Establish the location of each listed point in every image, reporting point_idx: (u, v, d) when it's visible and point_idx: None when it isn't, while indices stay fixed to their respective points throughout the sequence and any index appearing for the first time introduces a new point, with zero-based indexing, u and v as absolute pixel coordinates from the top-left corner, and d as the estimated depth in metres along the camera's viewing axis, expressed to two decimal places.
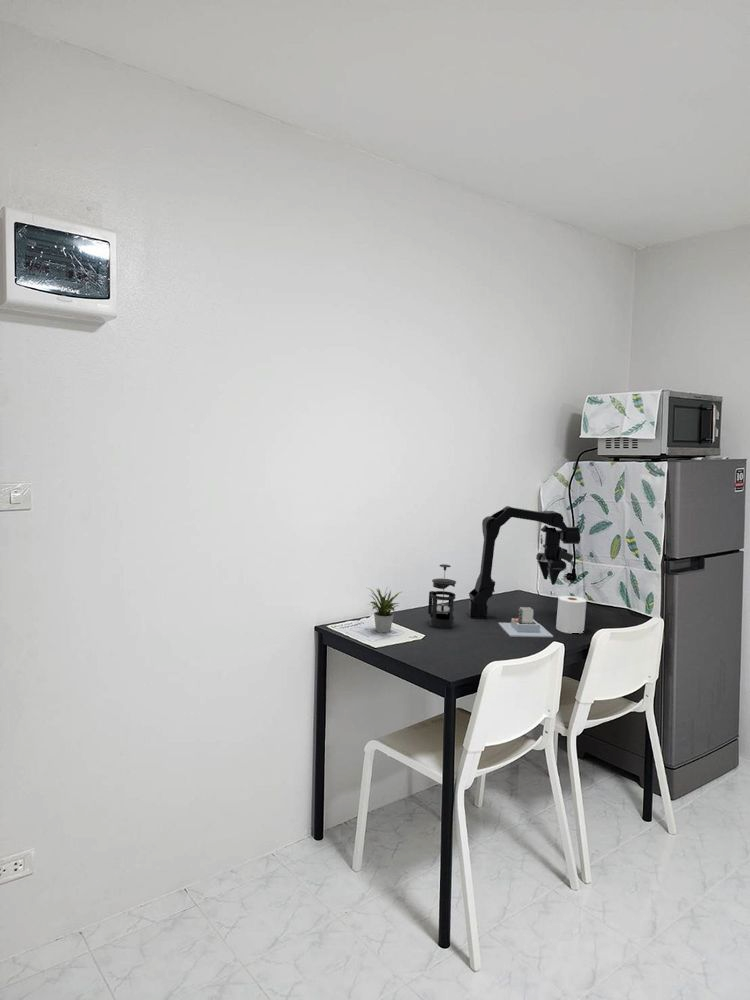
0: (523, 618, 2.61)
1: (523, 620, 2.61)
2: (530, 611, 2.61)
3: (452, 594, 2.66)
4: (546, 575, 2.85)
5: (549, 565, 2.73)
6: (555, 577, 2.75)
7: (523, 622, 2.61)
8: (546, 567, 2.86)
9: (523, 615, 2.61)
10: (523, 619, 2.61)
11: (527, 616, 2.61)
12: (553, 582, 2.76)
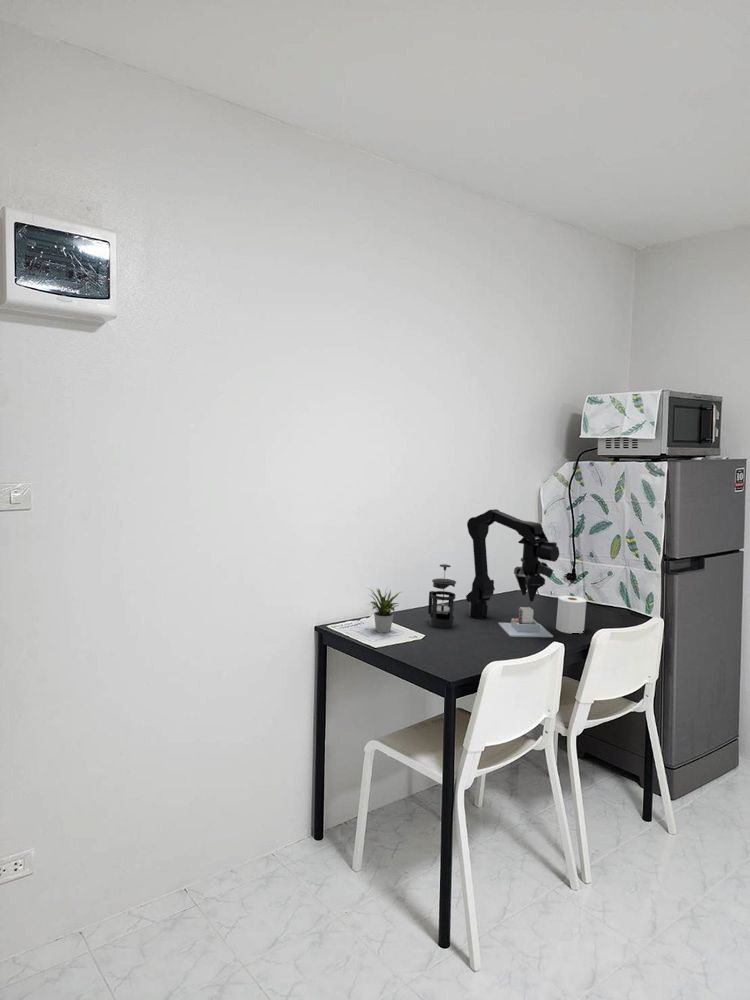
0: (523, 618, 2.61)
1: (523, 620, 2.61)
2: (530, 611, 2.61)
3: (452, 594, 2.66)
4: (524, 590, 2.67)
5: (527, 581, 2.54)
6: (533, 593, 2.57)
7: (523, 622, 2.61)
8: (524, 582, 2.67)
9: (523, 615, 2.61)
10: (523, 619, 2.61)
11: (527, 616, 2.61)
12: (531, 599, 2.57)
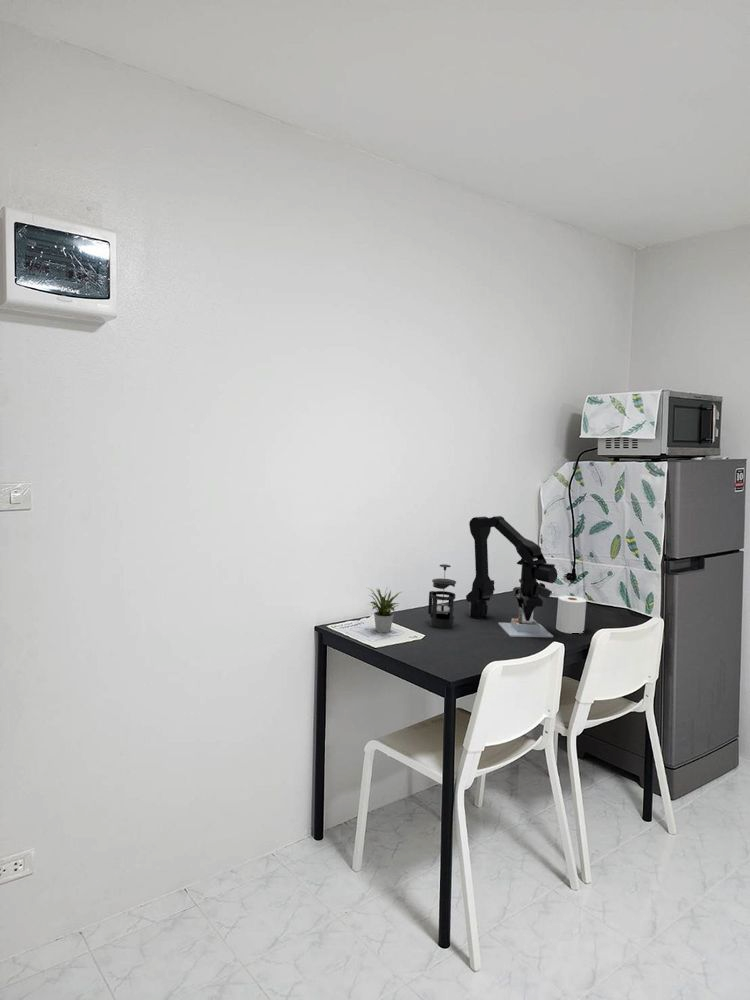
0: (523, 618, 2.61)
1: (523, 620, 2.61)
2: None
3: (452, 594, 2.66)
4: None
5: (525, 602, 2.55)
6: (529, 613, 2.60)
7: (523, 622, 2.61)
8: None
9: (523, 615, 2.61)
10: (523, 619, 2.61)
11: None
12: (527, 618, 2.60)
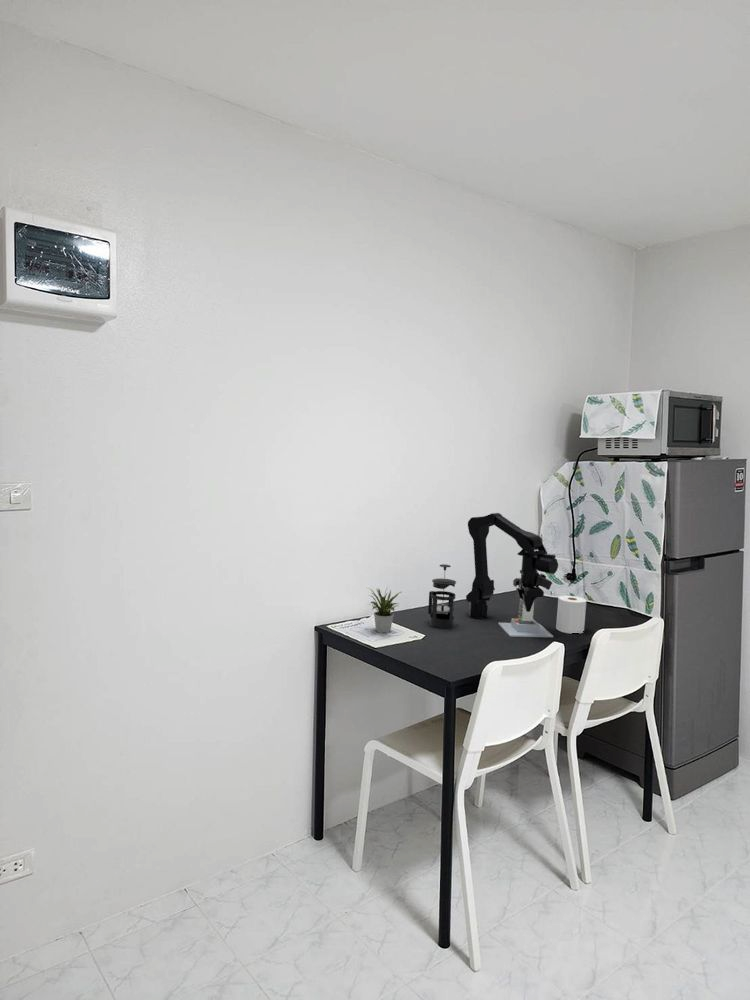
0: (524, 609, 2.61)
1: (524, 611, 2.61)
2: None
3: (452, 594, 2.66)
4: None
5: (525, 593, 2.54)
6: (530, 604, 2.59)
7: (524, 613, 2.61)
8: None
9: (524, 606, 2.61)
10: (524, 610, 2.61)
11: None
12: (528, 609, 2.60)
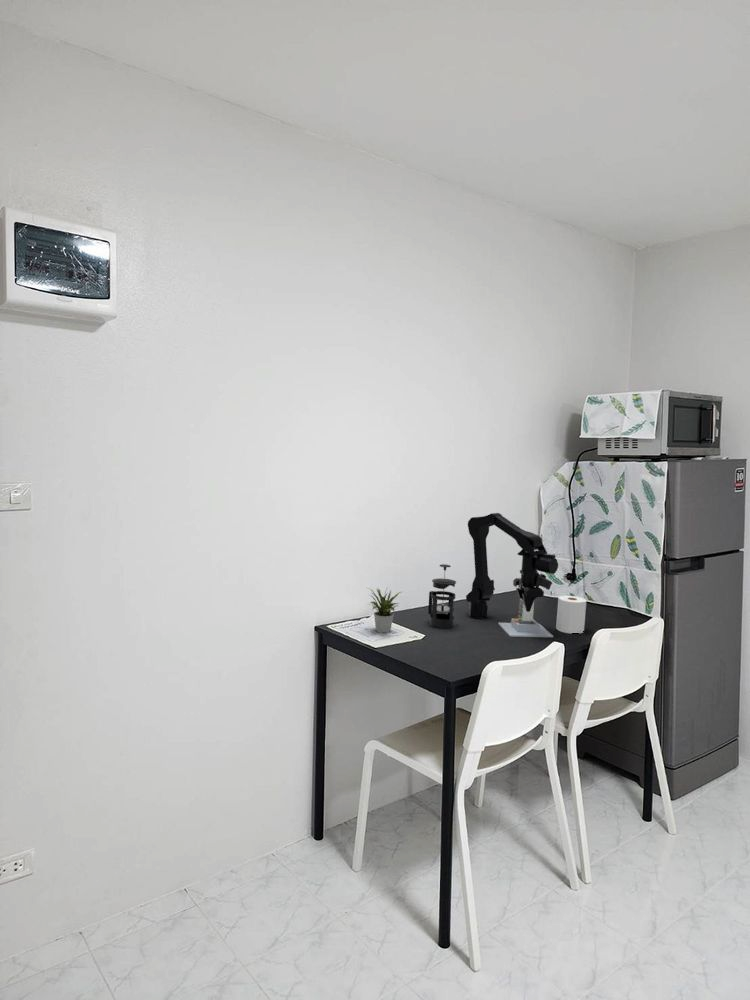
0: (524, 609, 2.61)
1: (524, 611, 2.61)
2: None
3: (452, 594, 2.66)
4: None
5: (525, 593, 2.54)
6: (530, 604, 2.59)
7: (524, 613, 2.61)
8: None
9: (524, 606, 2.61)
10: (524, 610, 2.61)
11: None
12: (528, 609, 2.60)
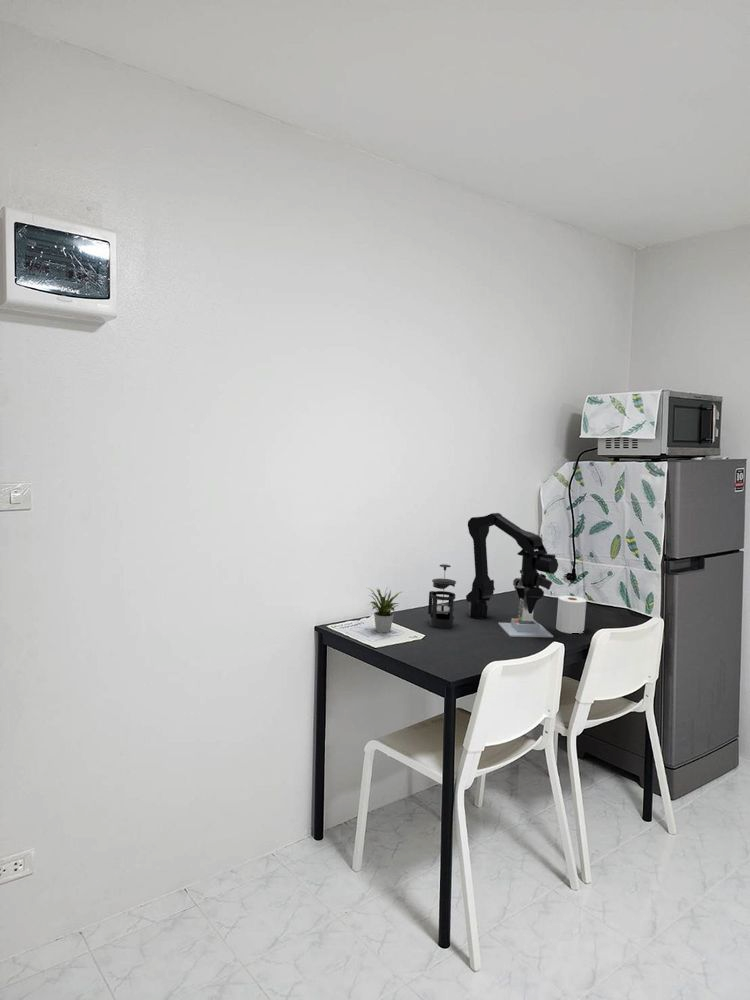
0: (524, 609, 2.61)
1: (524, 611, 2.61)
2: None
3: (452, 594, 2.66)
4: None
5: (525, 593, 2.54)
6: (532, 605, 2.57)
7: (524, 613, 2.61)
8: (523, 594, 2.67)
9: (524, 606, 2.61)
10: (524, 610, 2.61)
11: None
12: (530, 611, 2.58)
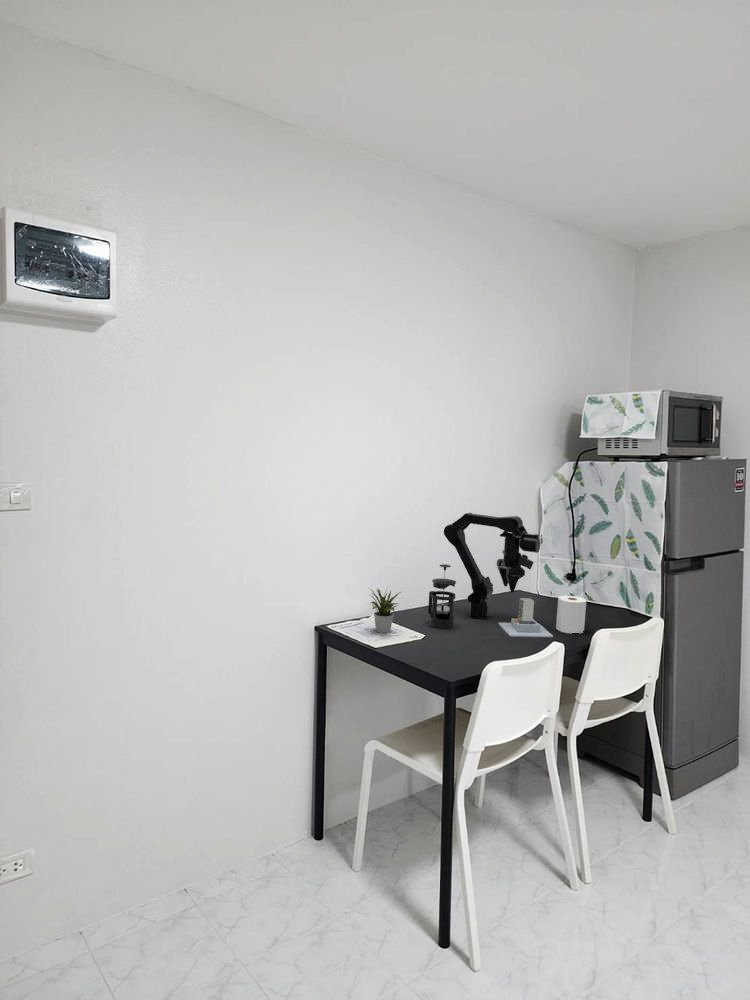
0: (524, 609, 2.61)
1: (524, 611, 2.61)
2: (531, 602, 2.61)
3: (452, 594, 2.66)
4: (506, 582, 2.77)
5: (507, 572, 2.64)
6: (514, 584, 2.67)
7: (524, 613, 2.61)
8: (506, 574, 2.77)
9: (524, 606, 2.61)
10: (524, 610, 2.61)
11: (528, 607, 2.61)
12: (512, 589, 2.68)
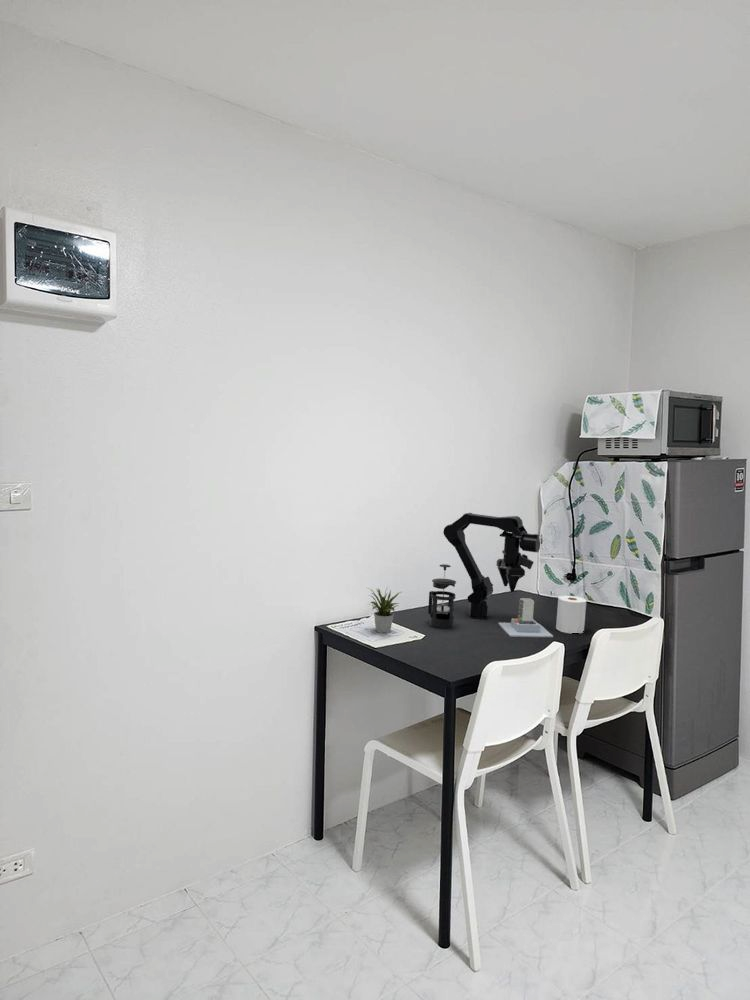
0: (524, 609, 2.61)
1: (524, 611, 2.61)
2: (531, 602, 2.61)
3: (452, 594, 2.66)
4: (506, 582, 2.77)
5: (507, 572, 2.64)
6: (514, 584, 2.67)
7: (524, 613, 2.61)
8: (506, 574, 2.77)
9: (524, 606, 2.61)
10: (524, 610, 2.61)
11: (528, 607, 2.61)
12: (512, 589, 2.68)
